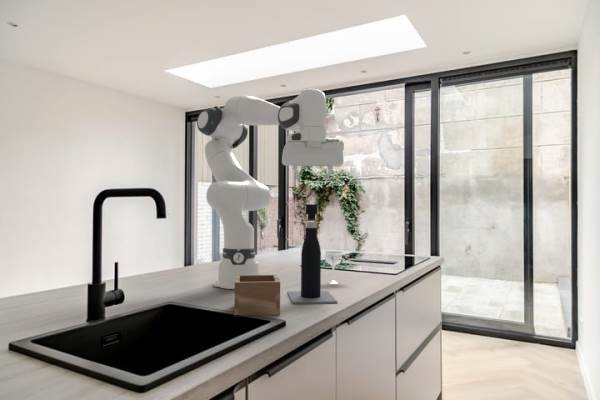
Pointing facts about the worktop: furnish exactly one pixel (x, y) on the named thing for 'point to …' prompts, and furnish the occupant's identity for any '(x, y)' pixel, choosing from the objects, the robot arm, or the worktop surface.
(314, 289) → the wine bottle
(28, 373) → the worktop surface
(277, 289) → the walnut crate
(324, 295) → the grey mat
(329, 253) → the wineglass
